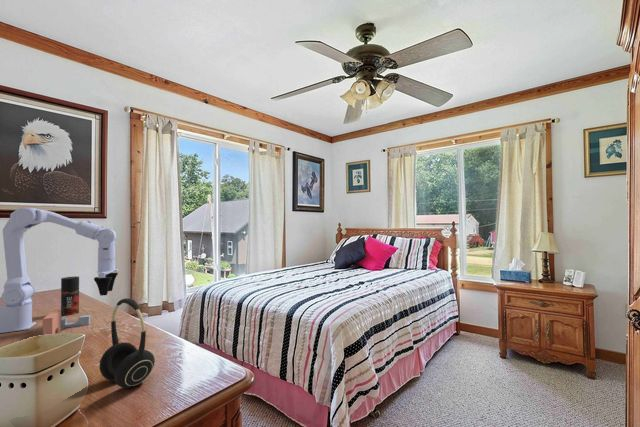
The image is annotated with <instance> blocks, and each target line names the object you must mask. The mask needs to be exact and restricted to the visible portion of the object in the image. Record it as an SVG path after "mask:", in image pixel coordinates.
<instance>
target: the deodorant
mask: <svg viewBox="0 0 640 427" xmlns="http://www.w3.org/2000/svg"><path fill="white" fill-rule="evenodd" d="M60 310H61V317H62V316H63V317H64V316H72V315H76V314H79V312H80V276H66V277H65V276H64V277H61V278H60Z"/></svg>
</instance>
